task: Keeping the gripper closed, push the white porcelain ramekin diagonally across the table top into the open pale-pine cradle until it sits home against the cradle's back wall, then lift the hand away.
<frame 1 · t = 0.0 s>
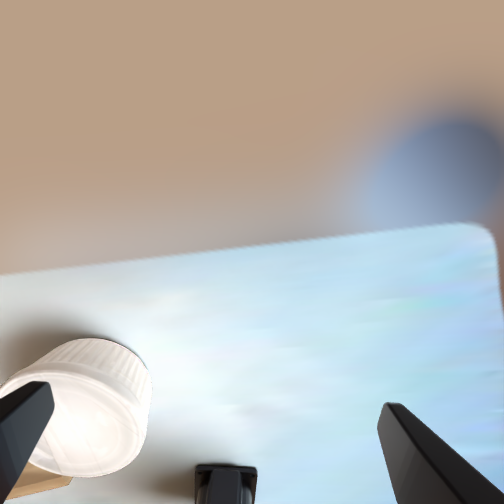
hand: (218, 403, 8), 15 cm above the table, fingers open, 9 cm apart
ramekin: (103, 375, 27), on the table
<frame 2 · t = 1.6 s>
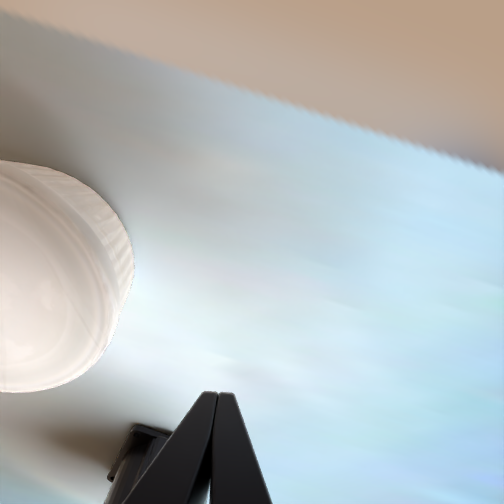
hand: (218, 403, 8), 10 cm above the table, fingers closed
ramekin: (58, 247, 17), on the table
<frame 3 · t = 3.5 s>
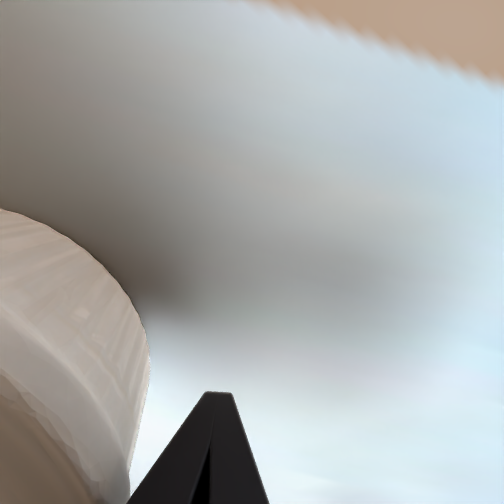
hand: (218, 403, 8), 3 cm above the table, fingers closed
ramekin: (21, 330, 10), on the table, touching gripper
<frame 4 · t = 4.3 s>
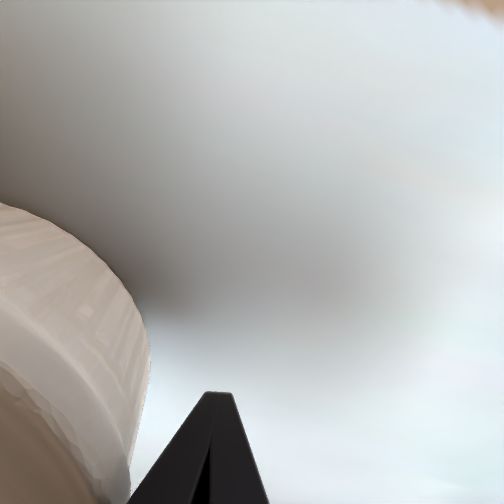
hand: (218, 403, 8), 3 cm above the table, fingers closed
ramekin: (22, 326, 10), on the table, touching gripper
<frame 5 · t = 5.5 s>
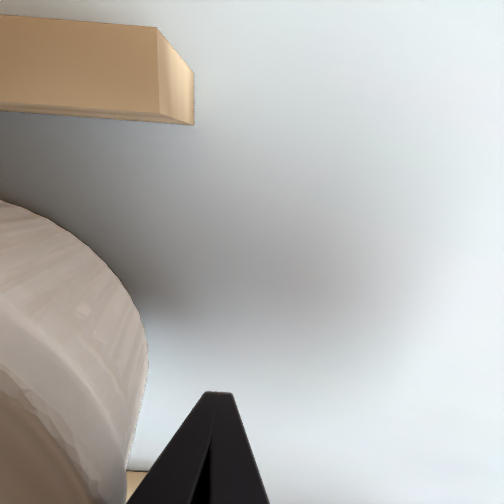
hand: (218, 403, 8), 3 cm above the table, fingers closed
cradle: (28, 332, 10), on the table
ramekin: (19, 324, 10), on the table, touching gripper
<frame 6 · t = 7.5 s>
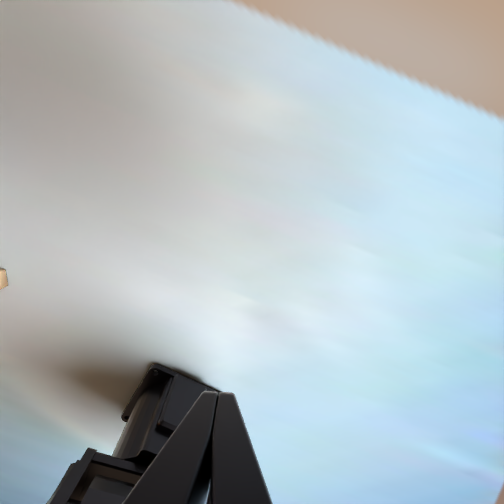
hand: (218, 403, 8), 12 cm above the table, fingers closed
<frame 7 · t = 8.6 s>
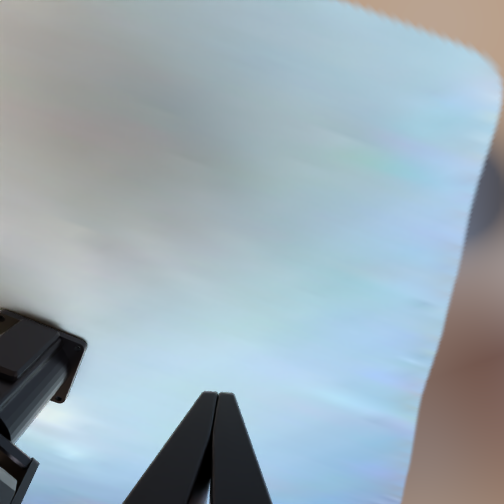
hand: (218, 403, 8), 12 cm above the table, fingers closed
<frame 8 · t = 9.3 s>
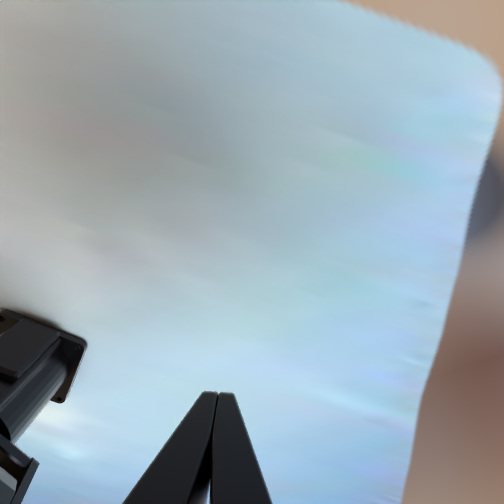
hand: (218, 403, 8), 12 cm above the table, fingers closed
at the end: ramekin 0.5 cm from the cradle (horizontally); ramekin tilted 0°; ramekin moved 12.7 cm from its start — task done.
